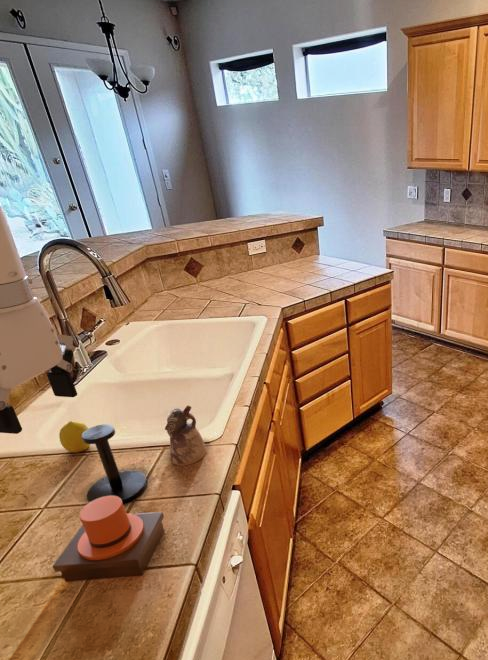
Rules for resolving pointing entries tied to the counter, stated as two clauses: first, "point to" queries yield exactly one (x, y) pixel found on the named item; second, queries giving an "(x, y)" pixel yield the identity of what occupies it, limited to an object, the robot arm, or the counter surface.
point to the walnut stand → (116, 566)
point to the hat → (107, 529)
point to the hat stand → (112, 469)
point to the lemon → (73, 436)
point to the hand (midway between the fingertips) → (40, 412)
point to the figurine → (184, 437)
